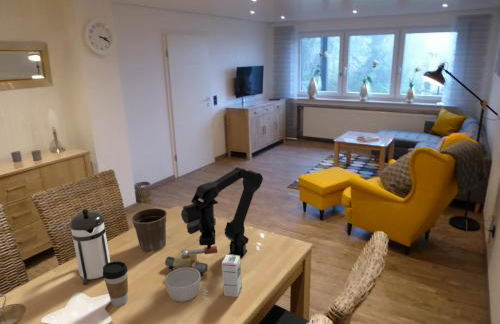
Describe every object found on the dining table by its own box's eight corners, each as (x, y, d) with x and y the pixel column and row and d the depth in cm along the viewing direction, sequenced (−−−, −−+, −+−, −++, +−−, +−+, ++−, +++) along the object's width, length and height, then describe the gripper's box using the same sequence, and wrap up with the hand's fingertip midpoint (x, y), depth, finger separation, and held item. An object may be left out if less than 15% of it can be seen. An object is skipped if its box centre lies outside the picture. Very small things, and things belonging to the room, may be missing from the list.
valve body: (209, 270, 148) (208, 255, 146) (202, 278, 143) (201, 263, 141) (172, 262, 154) (170, 248, 152) (164, 270, 149) (162, 256, 147)
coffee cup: (111, 294, 134) (106, 260, 130) (134, 293, 135) (129, 258, 131) (104, 309, 126) (98, 273, 122) (128, 307, 127) (123, 272, 123)
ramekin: (182, 278, 143) (181, 263, 141) (208, 288, 137) (207, 272, 135) (159, 297, 132) (157, 281, 130) (186, 308, 126) (185, 292, 124)
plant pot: (127, 251, 164) (123, 219, 160) (149, 235, 179) (145, 206, 174) (156, 257, 159) (152, 225, 154) (176, 240, 173) (173, 210, 168)
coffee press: (124, 266, 152) (114, 202, 144) (98, 288, 138) (86, 219, 129) (91, 260, 158) (80, 198, 149) (63, 281, 143) (49, 214, 134)
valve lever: (181, 257, 144) (181, 253, 144) (181, 253, 147) (181, 249, 147) (217, 253, 147) (217, 249, 146) (216, 249, 150) (216, 245, 149)
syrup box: (238, 297, 131) (237, 263, 127) (223, 295, 132) (221, 262, 128) (241, 288, 136) (240, 255, 132) (227, 286, 137) (225, 253, 133)
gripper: (189, 206, 152) (191, 237, 157) (185, 227, 135) (187, 262, 140) (214, 204, 153) (216, 236, 158) (214, 226, 135) (215, 260, 141)
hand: (209, 248), depth 149 cm, fingers closed
